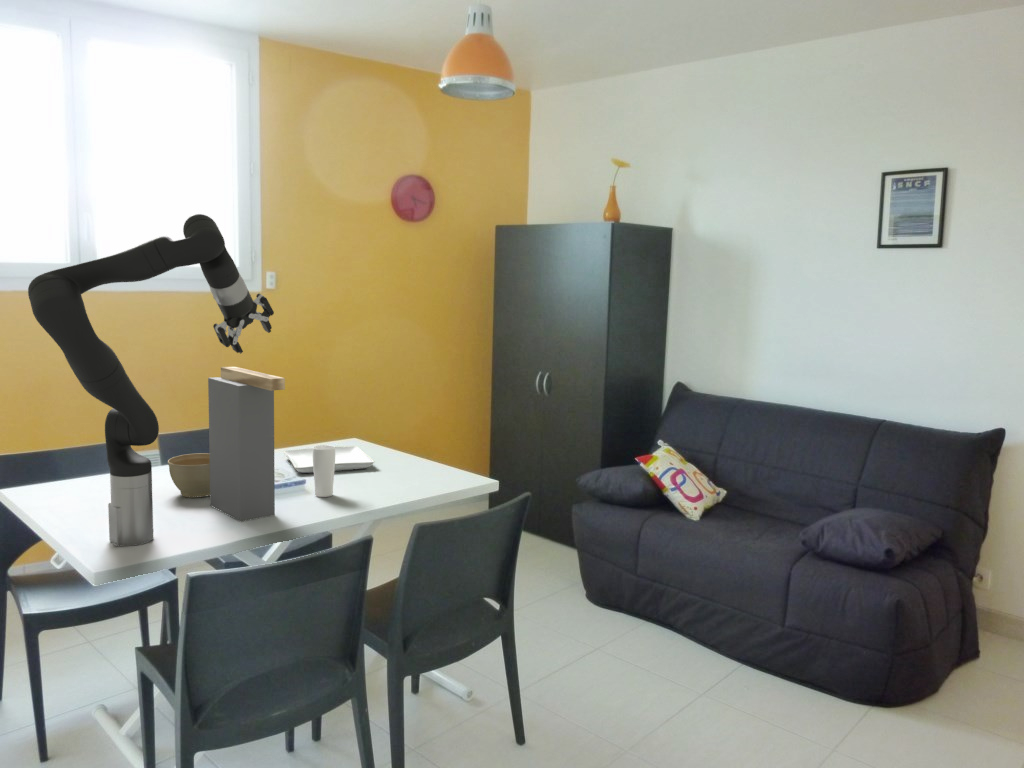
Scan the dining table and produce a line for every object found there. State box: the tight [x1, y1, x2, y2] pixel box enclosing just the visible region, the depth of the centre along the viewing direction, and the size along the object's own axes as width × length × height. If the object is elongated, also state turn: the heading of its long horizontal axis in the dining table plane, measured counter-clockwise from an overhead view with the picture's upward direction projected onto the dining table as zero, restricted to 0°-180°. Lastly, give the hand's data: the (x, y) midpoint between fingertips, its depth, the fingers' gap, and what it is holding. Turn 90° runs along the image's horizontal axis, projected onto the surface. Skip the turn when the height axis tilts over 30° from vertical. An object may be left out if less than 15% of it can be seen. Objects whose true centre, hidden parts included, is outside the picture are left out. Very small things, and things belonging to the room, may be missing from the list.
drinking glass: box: [312, 444, 336, 498], centre depth 241 cm, size 7×7×15 cm
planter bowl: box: [167, 452, 210, 498], centre depth 238 cm, size 16×16×11 cm
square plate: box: [282, 445, 375, 474], centre depth 282 cm, size 27×27×4 cm
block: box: [220, 366, 286, 391], centre depth 214 cm, size 4×30×3 cm, turn 43°
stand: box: [207, 376, 276, 522], centre depth 222 cm, size 10×20×37 cm, turn 43°
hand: (254, 341), depth 193 cm, fingers open, 8 cm apart
